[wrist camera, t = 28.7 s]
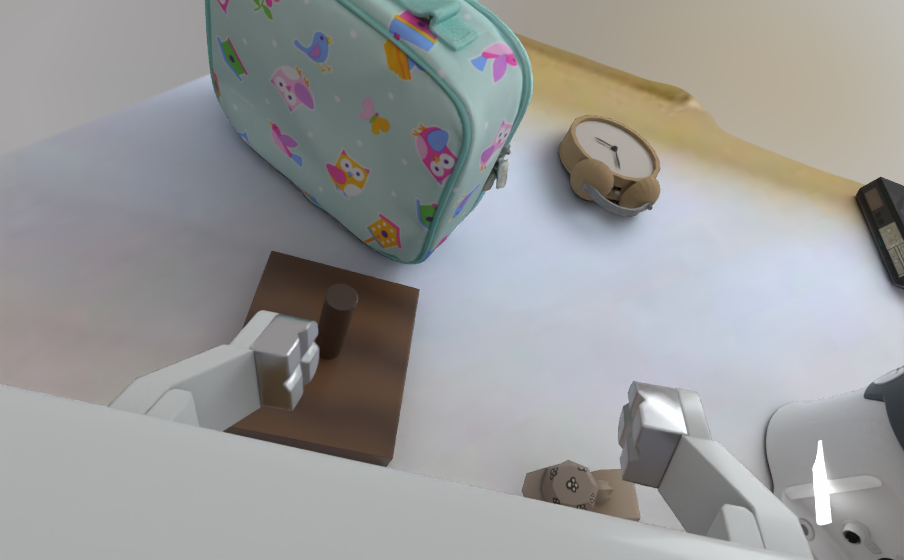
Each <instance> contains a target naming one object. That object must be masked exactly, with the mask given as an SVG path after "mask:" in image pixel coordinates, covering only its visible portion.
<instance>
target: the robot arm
mask: <svg viewBox="0 0 904 560" xmlns="http://www.w3.org/2000/svg"><path fill="white" fill-rule="evenodd" d="M317 335H318V324H317V323H316V322H315V321H313V320H309V319H304V318H299V317H294V316H290V315H285V314H279V313H274V312H270V311H265V310H261V311H259V312H257V313H256V314H255V315H254V317H253V318H252V319H251V320H250V321H249V322H248V323H247V325H246V326H245V327H244V328H243V329H242V330H241V331H240V333H239V334H238V335H237V336H236V337H235V338H234V339H233V341H232V342H231V343H230V344H229V345H224V344H223V345H220V346H217V347H215V348H212V349H210V350H207V351H205V352H202V353H200V354H197V355H195V356H192V357H190V358H187V359H185V360H182V361H179V362H177V363H174V364H172V365H169V366H167V367H164V368H162V369H159V370H157V371H154V372H152V373H149V374H146V375H144V376H141V377H139V378H136V379H135V380H134V381H133V382H132V383H131V384H130V385H129V386H128V387H127V388H126V389H125V390H124V391H123V392H122V393H121V394H120V395H118V396H117V397H116V398H115V399H114V400H113V401H112V402H111V403H110V404H109V405H108V406H107V407H106V406H101V405H96V404H92V403H87V402H83V401H78V400H73V399H69V398H64V397H60V396H55V395H50V394H46V393H41V392H36V391H32V390H27V389H23V388H18V387H13V386H9V385H4V384H0V560H904V366H902V367H900V368H897V369H895V370H893V371H891V372H889V373H887V374H885V375H883V376H880V377H879V378H877V379H875V380H874V382H872V383H871V384H870V385H869V386H868V387H865V388H861V389H858V390H855V391H851V392H848V393H844V394H840V395H836V396H832V397H828V398H823V399H817V400H811V401H801V402H792V403H788V404H786V405H783V406H782V407H780V408H779V409H778V410H777V411H776V412H775V413H774V414H773V416H772V418H771V420H770V422H769V425H768V428H767V434H766V451H767V458H768V463H769V467H770V471H771V475H772V479H773V484H774V493H772V492H771V491H769V490H768V489H767V488H766V487H765V486H764V485H763V484H762V483H761V482H760V481H759V480H758V479H757V478H756V477H755V476H754V475H753V474H752V473H751V472H750V471H749V470H747V469H746V468H745V467H744V466H743V465H742V464H741V463H740V462H739V461H738V460H737V459H736V458H735V457H734V456H733V455H732V454H731V453H730V452H729V451H728V450H727V449H725V448H724V447H723V446H722V445H721V444H720V443H719V442H716V441H713V440H712V437H711V434H710V430H709V427H708V423H707V420H706V417H705V413H704V410H703V406H702V403H701V399H700V396H699V394H698V393H697V392H696V391H690V390H684V389H678V388H675V389H674V388H669V387H663V386H658V385H652V384H647V383H642V382H636V381H633V382H632V384H631V386H630V388H629V391H628V399H629V403H628V404H626V405H625V406H623V409H622V412H621V415H620V420H619V426H618V442H619V445H620V446H621V447H622V448H623V451H622V454H621V457H620V464H621V473H622V480H624V481H628V482H632V483H636V484H641V485H645V486H649V487H653V488H658V491H659V493H660V494H661V495H662V497H663V498H664V500H665V501H666V503H667V504H668V506H669V507H670V509H671V510H672V511H673V513H674V514H675V516H676V517H677V519H678V520H679V522H680V523H681V524H682V526H683V527H684V529H685V530H686V532H683V531H679V530H674V529H669V528H665V527H660V526H656V525H651V524H646V523H642V522H637V521H632V520H627V519H623V518H618V517H613V516H609V515H604V514H599V513H595V512H590V511H586V510H581V509H576V508H572V507H567V506H563V505H558V504H553V503H549V502H544V501H540V500H535V499H530V498H526V497H521V496H517V495H512V494H508V493H503V492H498V491H494V490H489V489H485V488H480V487H475V486H471V485H466V484H461V483H457V482H452V481H447V480H443V479H438V478H433V477H429V476H424V475H419V474H415V473H410V472H405V471H401V470H396V469H392V468H387V467H382V466H378V465H373V464H368V463H364V462H359V461H355V460H350V459H345V458H341V457H336V456H332V455H327V454H322V453H318V452H313V451H308V450H304V449H299V448H295V447H290V446H285V445H281V444H276V443H272V442H267V441H262V440H258V439H253V438H249V437H244V436H239V435H235V434H230V433H225V432H223V431H224V430H226V429H227V428H229V427H231V426H232V425H234V424H235V423H237V422H238V421H240V420H242V419H243V418H245V417H246V416H248V415H249V414H251V413H253V412H254V411H256V410H257V409H259V408H260V407H261V406H266V407H271V408H277V409H283V410H288V411H293V410H294V408H295V406H296V405H297V403H298V401H299V400H300V398H301V397H302V395H303V385H305V384H307V383H309V382H311V380H312V378H313V377H314V375H315V372H316V369H317V366H318V362H319V347H318V345H317V344H316V343H315V341H314V340H315V338H316V337H317Z"/></svg>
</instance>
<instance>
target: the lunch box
mask: <svg viewBox="0 0 904 560" xmlns="http://www.w3.org/2000/svg"><path fill="white" fill-rule="evenodd" d="M205 13H206V32H207V45H208V55H209V64H210V73H211V79H212V84H213V87H214V91H215V94H216V97H217V99H218V101H219V103H220V105H221V107H222V109H223V110H224V112H225V114H226V115H227V117H228V119H229V120H230V122H231V124H232V126H233V127H234V129H235V130H236V132H237V133H238V134H239V135H240V137H241V138H242V139H243V140H244V141H245V142H246V143H247V144H248V145H249V146H250V147H251V148H252V149H253V150H255V151H256V152H257V153H258V154H259V155H260V156H262V157H263V158H264V159H265V160H266V161H268V162H269V163H270V164H271V165H272V166H274V167H275V168H276V169H278V170H279V171H280V172H281V173H282V174H284V175H285V176H286V177H287V178H288V179H290V180H291V181H292V182H293V183H294V184H295V185H296V186H297V187H298V188H299V189H300V190H301V191H302V192H303V193H304V195H305V197H306V198H307V199H309V200H310V201H311V202H312V203H314V204H315V205H316V206H318V207H320V208H321V209H323V210H325V211H326V212H327V213H329V214H330V215H332V216H333V217H334V218H335V219H337V220H338V221H339V222H340V223H341V224H342V225H344V226H345V227H346V228H347V229H348V230H349V231H351V232H352V233H353V234H354V235H355V236H357V237H358V238H359V239H360V240H361V241H363V242H364V243H365V244H366V245H368V246H369V247H371V248H372V249H374V250H375V251H377V252H379V253H381V254H382V255H384V256H386V257H388V258H390V259H392V260H395V261H398V262H400V263H405V264H418V263H421V262H423V261H425V260H426V259H427V258H428V257H429V256H430V255H431V254H432V252H433V251H434V250H435V249H436V248H437V247H438V246H439V245H440V244H442V243H443V242H444V241H445V240H446V239H447V237H448V236H449V235H450V234H451V232H452V231H453V230H454V229H455V228H456V227H457V226H458V225H459V224H460V223H461V222H462V221H463V220H464V218H465V217H466V216H468V214H469V213H470V212H471V211H472V210H473V209H474V208H475V207H476V206H477V205H478V203H479V202H480V200H481V199H482V197H483V195H484V193H485V192H486V191H487V190H490V189H491V187H492V185H493V183H494V180H495V179H497V183H496V188H497V189H499V188H503V187H504V186H505V185H506V180H507V171H508V164H509V160H508V159H507V160H504V157H505V155H506V154H508V155H509V154H510V150H509V148H510V144H509V143H510V141H511V139H512V137H513V135H514V133H515V132H516V130H517V128H518V126H519V124H520V122H521V120H522V118H523V116H524V114H525V112H526V109H527V107H528V105H529V103H530V99H531V96H532V91H533V76H532V68H531V64H530V60H529V57H528V55H527V53H526V51H525V49H524V47H523V45H522V44H521V42H520V41H519V39H518V38H517V37H516V36H515V34H514V33H513V32H512V31H511V30H510V28H509V27H508V26H507V25H506V24H505V23H503V21H501V20H500V19H499V18H498V17H497V16H496V15H495V14H493V13H492V12H491V11H490V10H488V9H487V8H486V7H484V6H483V5H482V4H481V3H479V2H478V1H476V0H205Z"/></svg>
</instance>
